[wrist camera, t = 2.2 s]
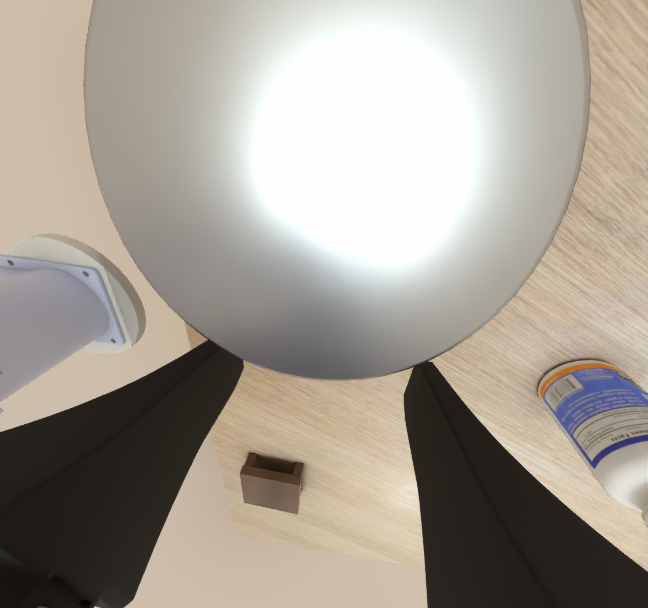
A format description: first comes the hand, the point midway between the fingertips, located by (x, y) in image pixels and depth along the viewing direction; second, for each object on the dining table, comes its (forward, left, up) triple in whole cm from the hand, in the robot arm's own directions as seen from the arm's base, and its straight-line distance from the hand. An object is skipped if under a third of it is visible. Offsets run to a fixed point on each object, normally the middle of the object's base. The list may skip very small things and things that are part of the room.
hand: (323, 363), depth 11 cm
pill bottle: (+19, -6, -9) cm, 22 cm away
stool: (-5, -28, -9) cm, 30 cm away
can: (0, +7, -2) cm, 7 cm away
